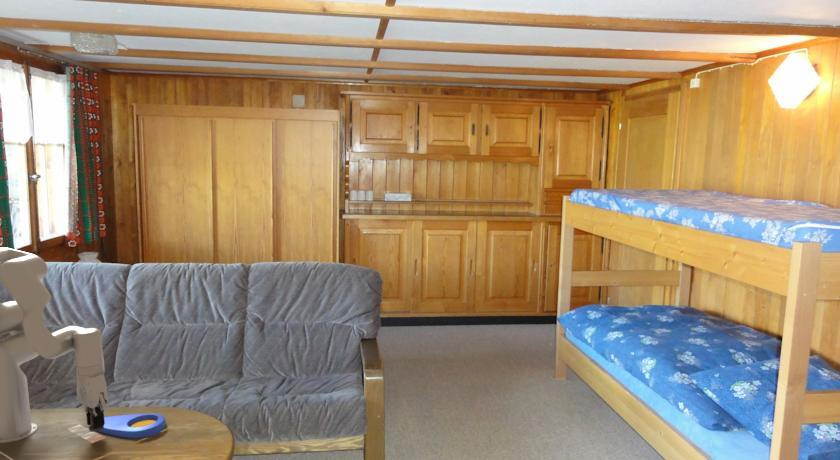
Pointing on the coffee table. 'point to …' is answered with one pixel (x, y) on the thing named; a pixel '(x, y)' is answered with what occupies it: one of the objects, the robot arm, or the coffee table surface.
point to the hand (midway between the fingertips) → (96, 424)
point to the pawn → (92, 422)
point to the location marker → (134, 425)
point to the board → (87, 435)
